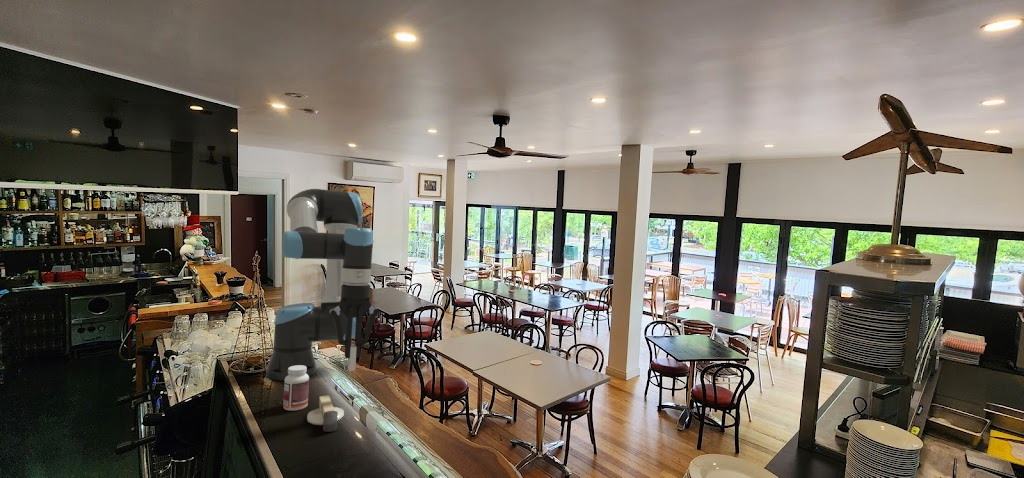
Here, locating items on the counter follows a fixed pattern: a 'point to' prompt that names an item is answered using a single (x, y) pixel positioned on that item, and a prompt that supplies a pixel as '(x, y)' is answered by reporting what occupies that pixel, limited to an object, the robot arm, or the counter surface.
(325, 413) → the hinged leg
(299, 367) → the pill bottle
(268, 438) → the counter surface
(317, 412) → the seat pad
